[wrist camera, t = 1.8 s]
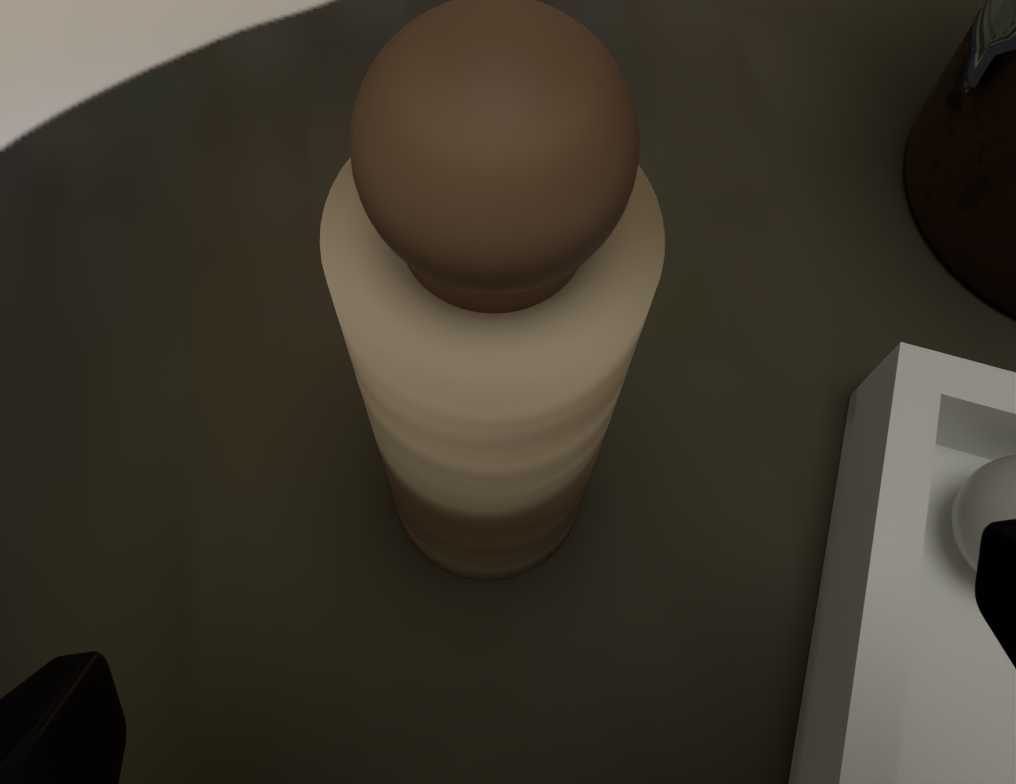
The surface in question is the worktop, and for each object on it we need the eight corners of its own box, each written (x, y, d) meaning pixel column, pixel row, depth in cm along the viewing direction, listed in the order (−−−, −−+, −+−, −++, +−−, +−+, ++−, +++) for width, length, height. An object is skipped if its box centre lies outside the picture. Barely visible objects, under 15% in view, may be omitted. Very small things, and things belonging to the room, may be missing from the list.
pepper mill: (552, 604, 21) (672, 296, 8) (369, 548, 21) (186, 165, 8) (599, 431, 22) (764, -63, 9) (430, 382, 23) (359, -156, 10)
